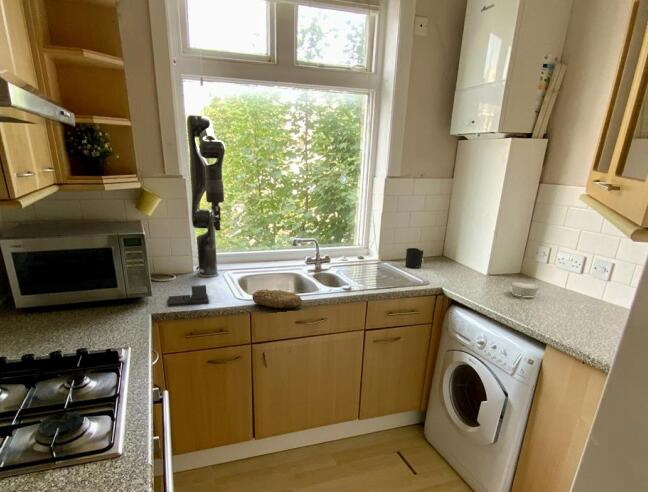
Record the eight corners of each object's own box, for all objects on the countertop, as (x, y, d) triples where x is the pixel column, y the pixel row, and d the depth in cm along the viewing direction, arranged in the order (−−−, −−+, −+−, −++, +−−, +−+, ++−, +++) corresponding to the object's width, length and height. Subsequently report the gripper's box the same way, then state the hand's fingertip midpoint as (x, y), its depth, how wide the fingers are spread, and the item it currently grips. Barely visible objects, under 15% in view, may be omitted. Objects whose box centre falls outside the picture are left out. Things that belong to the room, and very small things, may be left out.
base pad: (169, 298, 182) (168, 296, 181) (190, 297, 184) (190, 294, 184) (168, 306, 173) (168, 303, 172) (191, 304, 175) (190, 302, 175)
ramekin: (530, 292, 199) (533, 281, 197) (540, 300, 189) (543, 288, 187) (506, 291, 200) (508, 280, 198) (514, 298, 190) (517, 287, 188)
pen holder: (404, 268, 238) (406, 250, 234) (405, 264, 246) (406, 247, 243) (421, 269, 236) (423, 252, 232) (421, 265, 244) (423, 248, 240)
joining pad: (184, 297, 183) (182, 283, 181) (207, 296, 186) (206, 282, 183) (184, 305, 174) (182, 290, 172) (208, 303, 177) (207, 288, 175)
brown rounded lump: (250, 308, 176) (285, 310, 163) (249, 289, 175) (284, 289, 162) (272, 306, 186) (306, 307, 173) (271, 288, 185) (306, 288, 172)
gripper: (204, 189, 185) (207, 226, 192) (206, 192, 173) (209, 231, 179) (222, 189, 187) (224, 225, 193) (225, 192, 175) (227, 231, 181)
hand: (217, 228), depth 186 cm, fingers open, 8 cm apart
